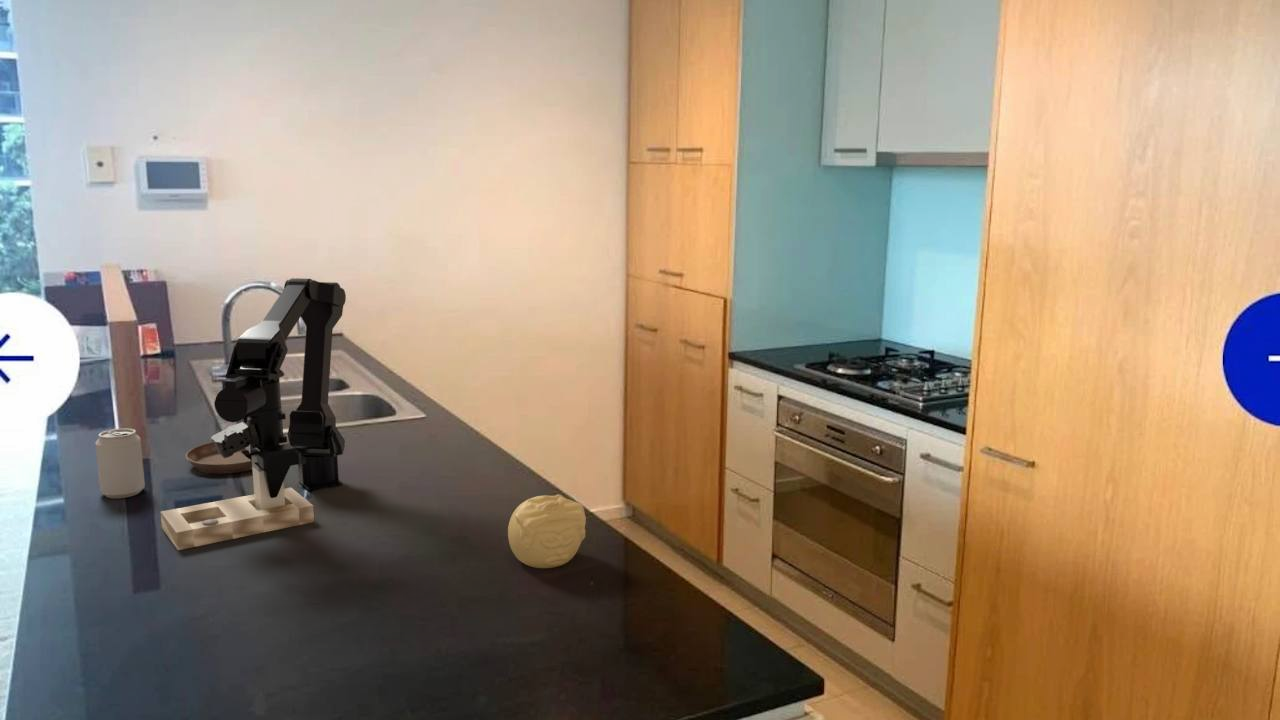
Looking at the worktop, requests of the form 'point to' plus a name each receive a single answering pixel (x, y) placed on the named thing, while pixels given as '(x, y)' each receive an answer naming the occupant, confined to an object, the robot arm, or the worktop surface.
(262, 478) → the plug
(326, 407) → the robot arm
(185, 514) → the socket block
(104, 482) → the can
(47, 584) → the worktop surface
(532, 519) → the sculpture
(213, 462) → the plant saucer
